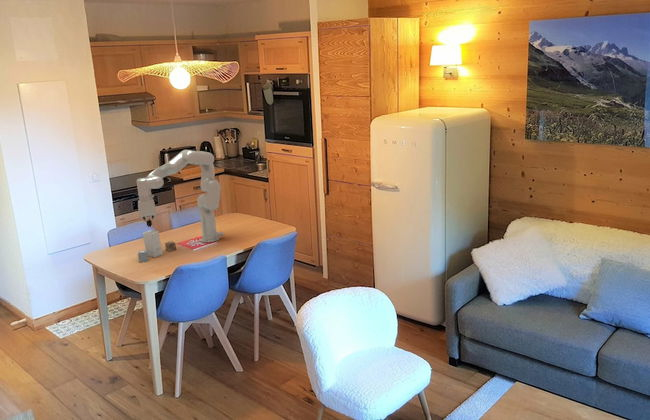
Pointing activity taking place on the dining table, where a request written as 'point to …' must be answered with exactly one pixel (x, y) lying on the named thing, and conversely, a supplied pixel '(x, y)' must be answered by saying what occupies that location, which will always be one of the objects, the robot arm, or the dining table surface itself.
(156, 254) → the skincare box
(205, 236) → the robot arm
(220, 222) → the dining table surface
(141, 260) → the slate block dot
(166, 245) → the walnut block dot
